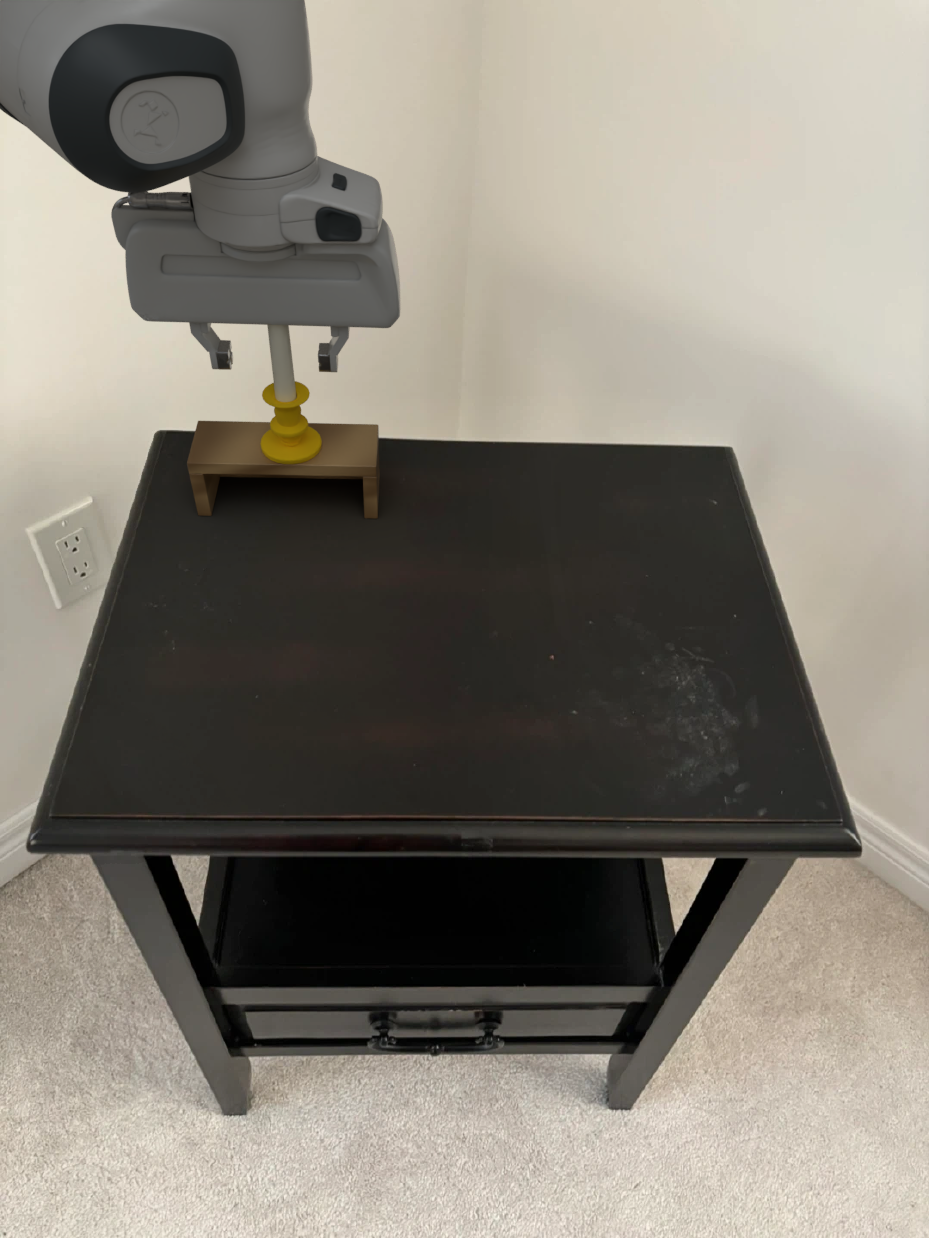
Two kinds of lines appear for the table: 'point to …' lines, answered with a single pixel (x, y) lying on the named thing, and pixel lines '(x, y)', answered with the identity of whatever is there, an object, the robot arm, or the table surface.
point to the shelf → (241, 455)
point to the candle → (287, 407)
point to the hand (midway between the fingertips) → (276, 367)
